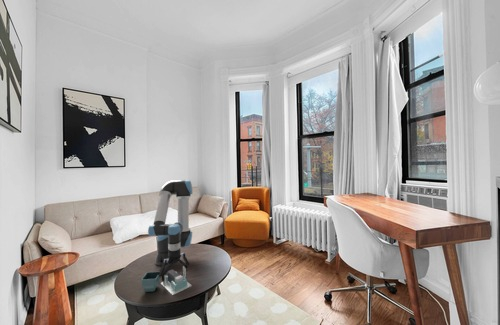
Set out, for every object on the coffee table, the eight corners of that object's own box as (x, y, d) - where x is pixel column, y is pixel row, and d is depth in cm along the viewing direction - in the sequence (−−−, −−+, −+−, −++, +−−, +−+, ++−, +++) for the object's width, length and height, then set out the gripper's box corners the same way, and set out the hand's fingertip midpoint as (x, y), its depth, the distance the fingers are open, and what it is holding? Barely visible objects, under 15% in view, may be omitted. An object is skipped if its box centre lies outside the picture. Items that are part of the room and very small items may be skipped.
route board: (160, 283, 136) (160, 277, 136) (179, 275, 146) (179, 269, 146) (172, 295, 125) (172, 288, 125) (191, 285, 134) (191, 279, 134)
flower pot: (147, 285, 135) (146, 271, 135) (161, 284, 135) (160, 271, 135) (141, 294, 126) (140, 279, 126) (156, 293, 127) (155, 278, 127)
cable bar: (167, 280, 139) (166, 271, 139) (173, 277, 142) (173, 268, 142) (176, 289, 130) (176, 279, 130) (183, 286, 133) (182, 276, 133)
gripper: (157, 257, 124) (157, 292, 125) (194, 244, 142) (194, 275, 143) (152, 253, 130) (153, 286, 130) (188, 241, 148) (189, 271, 148)
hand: (174, 280), depth 136 cm, fingers open, 13 cm apart
